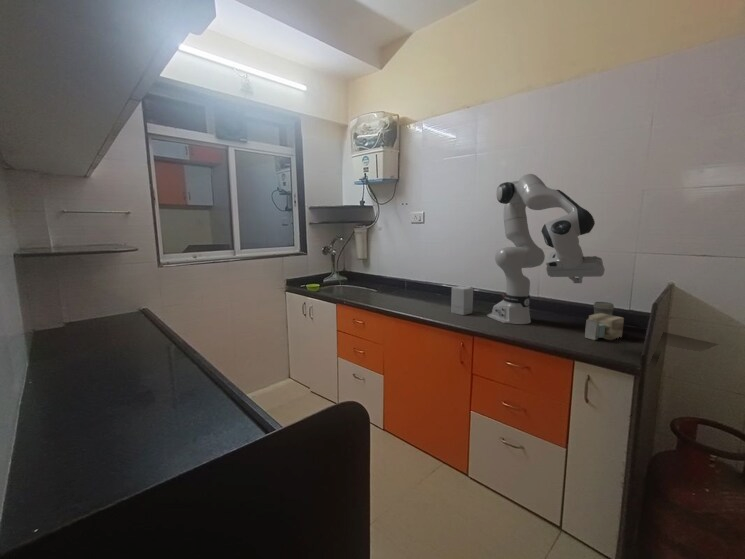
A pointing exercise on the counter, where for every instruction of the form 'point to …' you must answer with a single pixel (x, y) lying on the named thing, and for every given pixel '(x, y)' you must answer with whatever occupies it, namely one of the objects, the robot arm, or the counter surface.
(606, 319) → the block
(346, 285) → the counter surface
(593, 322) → the grey elongated piece
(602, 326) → the pale teal block
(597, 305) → the coffee cup
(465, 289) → the supplement box
